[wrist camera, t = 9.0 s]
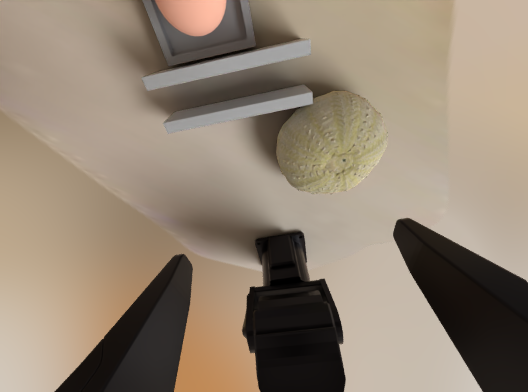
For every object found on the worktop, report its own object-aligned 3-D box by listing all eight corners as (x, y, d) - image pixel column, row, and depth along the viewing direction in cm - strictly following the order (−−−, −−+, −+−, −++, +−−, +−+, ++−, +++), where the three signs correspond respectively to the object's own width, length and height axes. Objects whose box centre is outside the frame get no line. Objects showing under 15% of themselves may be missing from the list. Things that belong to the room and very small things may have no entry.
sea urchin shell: (252, 120, 17) (352, 118, 11) (306, 83, 20) (400, 69, 15) (281, 203, 22) (358, 229, 17) (320, 162, 26) (393, 173, 20)
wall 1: (301, 52, 16) (310, 54, 13) (162, 83, 16) (147, 91, 14) (301, 38, 15) (310, 39, 13) (157, 71, 16) (141, 77, 14)
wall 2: (304, 94, 17) (312, 104, 15) (178, 121, 18) (167, 133, 16) (303, 84, 17) (312, 91, 15) (174, 111, 18) (162, 123, 15)
